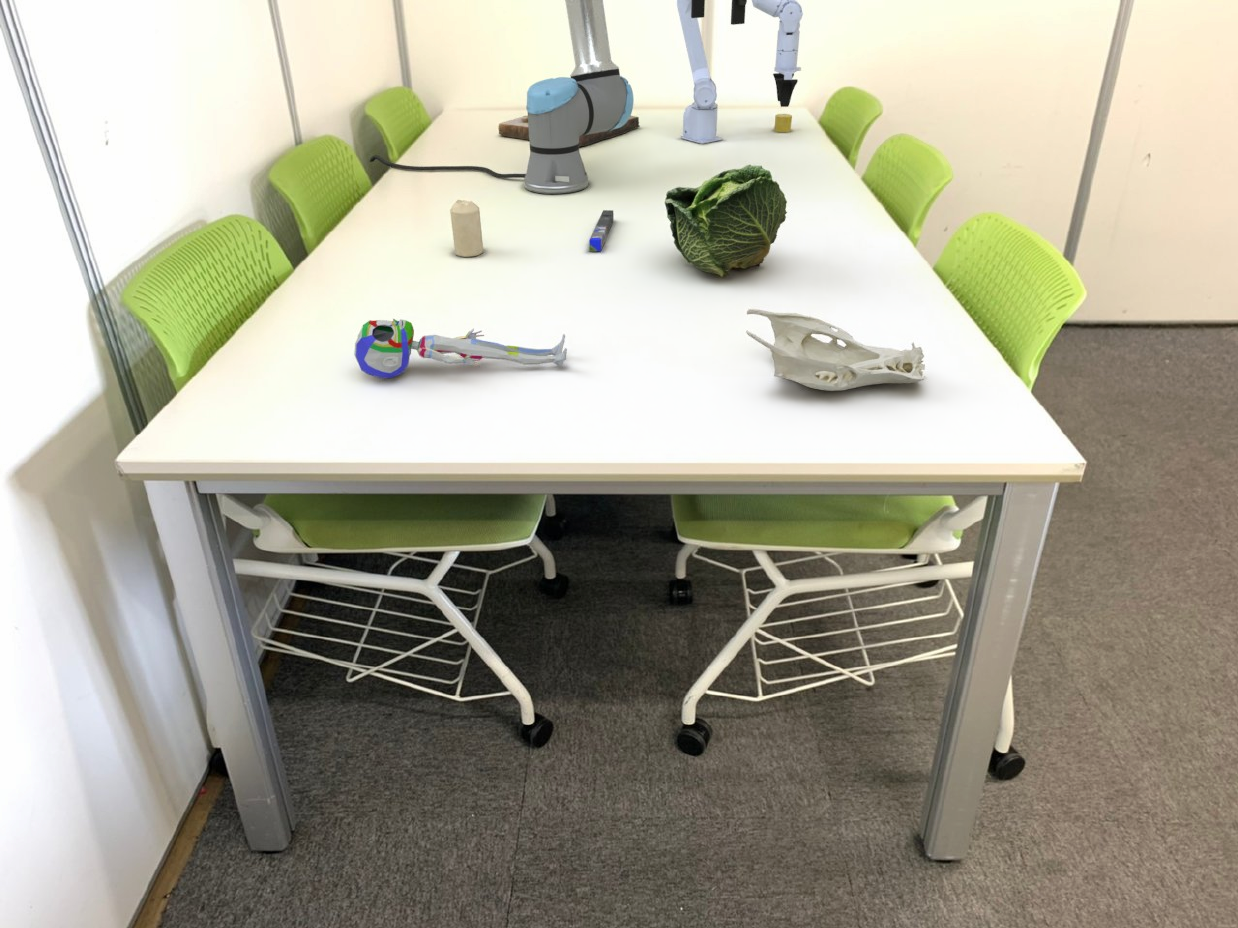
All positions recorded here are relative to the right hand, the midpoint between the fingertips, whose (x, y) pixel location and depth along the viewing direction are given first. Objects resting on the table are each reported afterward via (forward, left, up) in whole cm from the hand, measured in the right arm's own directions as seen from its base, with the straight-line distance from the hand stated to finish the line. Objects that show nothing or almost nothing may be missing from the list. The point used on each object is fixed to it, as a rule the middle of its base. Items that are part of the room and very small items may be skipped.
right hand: (783, 104), depth 247 cm
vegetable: (+65, -83, -10) cm, 106 cm away
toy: (+71, -141, -10) cm, 158 cm away
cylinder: (-8, +9, -10) cm, 16 cm away
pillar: (+35, -89, -10) cm, 96 cm away
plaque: (-48, -39, -10) cm, 62 cm away
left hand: (+36, -60, +28) cm, 76 cm away
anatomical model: (+108, -103, -10) cm, 149 cm away
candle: (+27, -115, -10) cm, 119 cm away
